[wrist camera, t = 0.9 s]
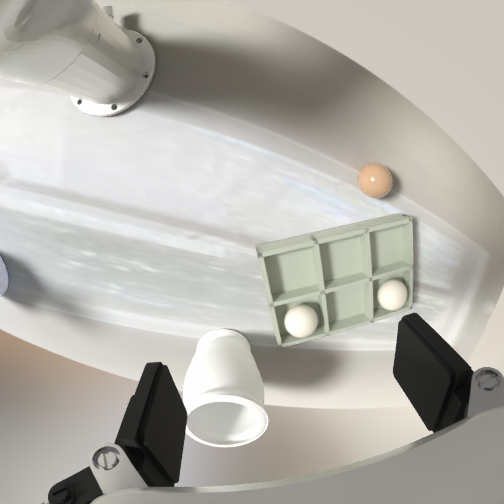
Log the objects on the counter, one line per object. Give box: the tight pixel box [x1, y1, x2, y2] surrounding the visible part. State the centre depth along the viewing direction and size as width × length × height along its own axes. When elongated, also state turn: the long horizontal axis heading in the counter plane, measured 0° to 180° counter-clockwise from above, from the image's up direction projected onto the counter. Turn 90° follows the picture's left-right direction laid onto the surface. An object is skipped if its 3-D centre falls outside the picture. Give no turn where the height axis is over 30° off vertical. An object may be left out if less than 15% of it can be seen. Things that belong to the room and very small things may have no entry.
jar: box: [183, 329, 268, 447], centre depth 36 cm, size 11×10×15 cm
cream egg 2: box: [377, 279, 407, 311], centre depth 39 cm, size 5×5×5 cm
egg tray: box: [255, 213, 413, 348], centre depth 39 cm, size 15×22×3 cm
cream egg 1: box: [284, 304, 318, 338], centre depth 39 cm, size 5×5×5 cm
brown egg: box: [358, 163, 393, 198], centre depth 35 cm, size 5×5×5 cm
